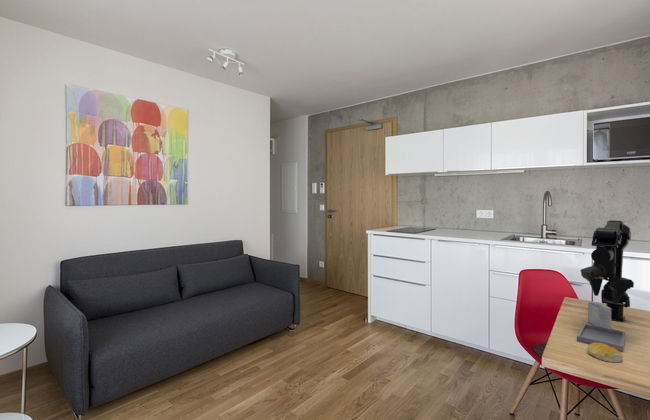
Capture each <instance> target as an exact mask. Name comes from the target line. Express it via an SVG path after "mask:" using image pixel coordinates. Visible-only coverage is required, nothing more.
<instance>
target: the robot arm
mask: <svg viewBox="0 0 650 420" xmlns="http://www.w3.org/2000/svg"><path fill="white" fill-rule="evenodd" d="M631 238H632V233H631V228H630V227H629V226H628V225H626V224H624V221H622V220H612V219H610V220H607V221H606V224H605V225H604V227H597V228H596V229H595V230H593V235H592V240H591V246H592V247H596V248H595V249H594V250H593V251H592V252H591V254H590V255H591V256H590V257H591V259H592V261H593V263H592V265H590V266H587V267H584V268H581V269H580V273H581V274H580V275H581V276H582V278H583V279H585V280H586V281H587V282H589V284H590V287H591V289H592V292H593V295H594V296H596V297H598V296H599V294H600V295H601V296H600V297H601V304H604V305H605V306H607V307H609V308H611V321H612V320H614V321H619V322H623V323H624V322H625V316H624V309H625V308H626V309H627V308H630V307H631V300H630V296H629V295H628V293H627V291H628V290H631V289H632V288H634V287H635V285H634V283H635V282H634V281H633V280H632V279H629V278H626V277H623V262H624V250H625V249H626V247H628V245H629V243H630V240H632V239H631ZM604 280H605V281H607V282H606V283H605V284H604V285H603V288H602V289H601V287H602V284H603V281H604ZM600 291H601V293H600Z"/></svg>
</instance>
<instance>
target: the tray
mask: <svg viewBox="0 0 650 420" xmlns="http://www.w3.org/2000/svg"><path fill="white" fill-rule="evenodd" d="M625 341H626V331H622V330H617V329H613V328H611V329H609V328H604V327H599V326H594V325H593V324H590V323H589V324H588V323H583V324H582V325H581V327H580V329H579V331H578V333H577V335H576V342H578V343H581V344H582V343H583V344H587V345H590V344H591V343H603V344H606V345H608V346H609V347H613V348H615V349H617V350H618V351H619V352H620V353H624V348H625Z"/></svg>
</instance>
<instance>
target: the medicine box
mask: <svg viewBox="0 0 650 420" xmlns="http://www.w3.org/2000/svg"><path fill="white" fill-rule="evenodd" d="M587 323H589V324H590V325H594V326H599V327H604V328H609V329H612V319H611V308H609V307H607V306H606V304H604V303H602V302H594V301H593V302H592V301H591V302H590V301H589V302H588V303H587Z"/></svg>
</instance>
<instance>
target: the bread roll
mask: <svg viewBox="0 0 650 420" xmlns="http://www.w3.org/2000/svg"><path fill="white" fill-rule="evenodd" d="M586 349H587V353H588V355H590V356H592V357H595V358H596V359H598V360H600V361H604V362H609V363H620V362H622V361H623V358H624V356H623V353H622V352H620V351H618V350H617V349H615V348H613V347H609V346H608V345H606V344H603V343H591V344H588V346H587V348H586Z"/></svg>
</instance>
